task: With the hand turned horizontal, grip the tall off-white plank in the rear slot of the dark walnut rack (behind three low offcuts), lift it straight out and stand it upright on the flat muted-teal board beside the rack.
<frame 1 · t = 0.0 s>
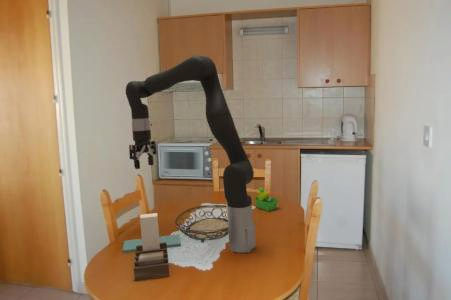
hand: (144, 166, 161), 29 cm above the table, tool pointing down, fingers open, 8 cm apart
jar: (236, 222, 173), on the table
fruit basket: (265, 209, 191), on the table
board: (152, 246, 149), on the table
panel: (152, 257, 136), point 1 cm above the table, touching rack
rack: (152, 267, 131), on the table
offcut tall: (152, 274, 124), point 1 cm above the table, touching rack
offcut mid: (152, 268, 128), point 1 cm above the table, touching rack
offcut short: (152, 263, 132), point 1 cm above the table, touching rack
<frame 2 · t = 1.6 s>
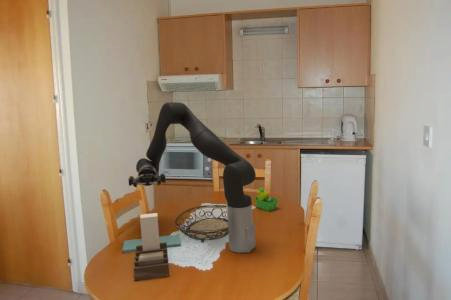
hand: (147, 183, 144), 26 cm above the table, tool horizontal, fingers open, 8 cm apart
nothing on the table moved.
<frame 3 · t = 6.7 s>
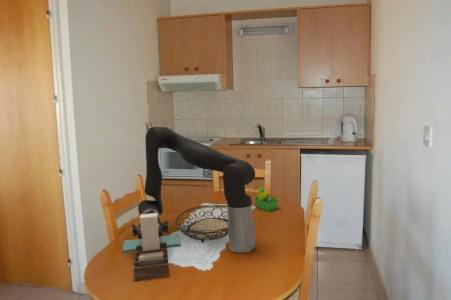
hand: (150, 235, 133), 10 cm above the table, tool horizontal, fingers closed on panel, 6 cm apart
panel: (152, 258, 136), point 1 cm above the table, touching gripper, rack
everything else where it was.
when the fingers open (13 cm above the table, at t = 14.7 s): panel drops 1 cm, resting on board.
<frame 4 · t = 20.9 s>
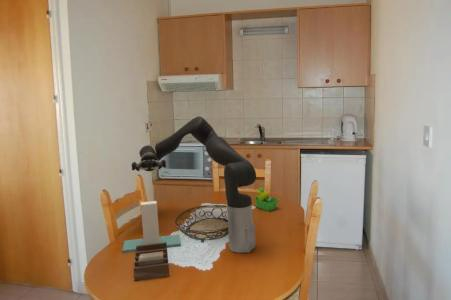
hand: (148, 167, 154), 30 cm above the table, tool horizontal, fingers open, 8 cm apart
panel: (151, 242, 149), point 2 cm above the table, touching board
everything else where it was.
at the end: panel inside the target area on the board (0.1 cm from its centre), point 2.0 cm above the board's base; panel tilted 0°; the gripper is holding nothing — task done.
